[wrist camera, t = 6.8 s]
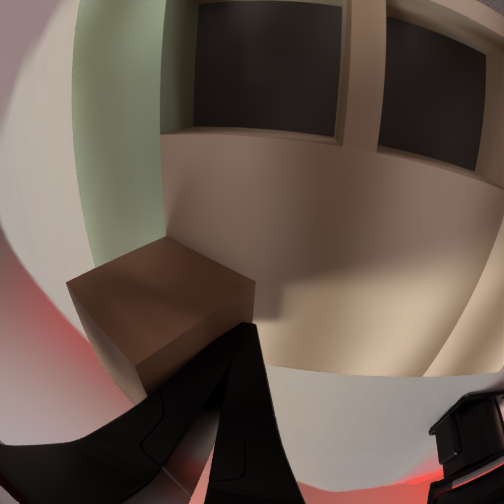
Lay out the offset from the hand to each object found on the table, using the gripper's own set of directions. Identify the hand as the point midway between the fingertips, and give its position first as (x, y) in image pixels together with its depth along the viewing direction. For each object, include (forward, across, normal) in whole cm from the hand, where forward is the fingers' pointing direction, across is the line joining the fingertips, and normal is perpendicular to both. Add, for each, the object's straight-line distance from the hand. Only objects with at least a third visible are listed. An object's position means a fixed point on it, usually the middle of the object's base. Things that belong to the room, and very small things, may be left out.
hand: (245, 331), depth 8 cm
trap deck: (+5, -4, -4) cm, 7 cm away
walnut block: (+1, +2, 0) cm, 2 cm away
